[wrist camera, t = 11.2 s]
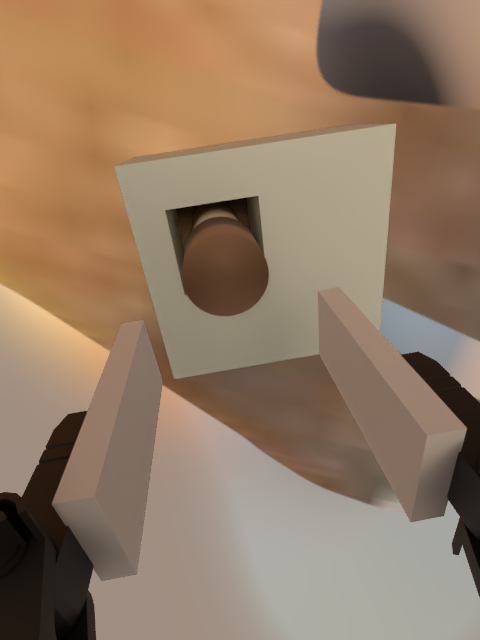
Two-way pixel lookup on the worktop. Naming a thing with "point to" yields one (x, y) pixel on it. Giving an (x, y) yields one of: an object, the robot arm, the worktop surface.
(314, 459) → the worktop surface
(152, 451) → the robot arm
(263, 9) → the worktop surface
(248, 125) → the worktop surface
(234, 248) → the peg
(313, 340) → the seat board
